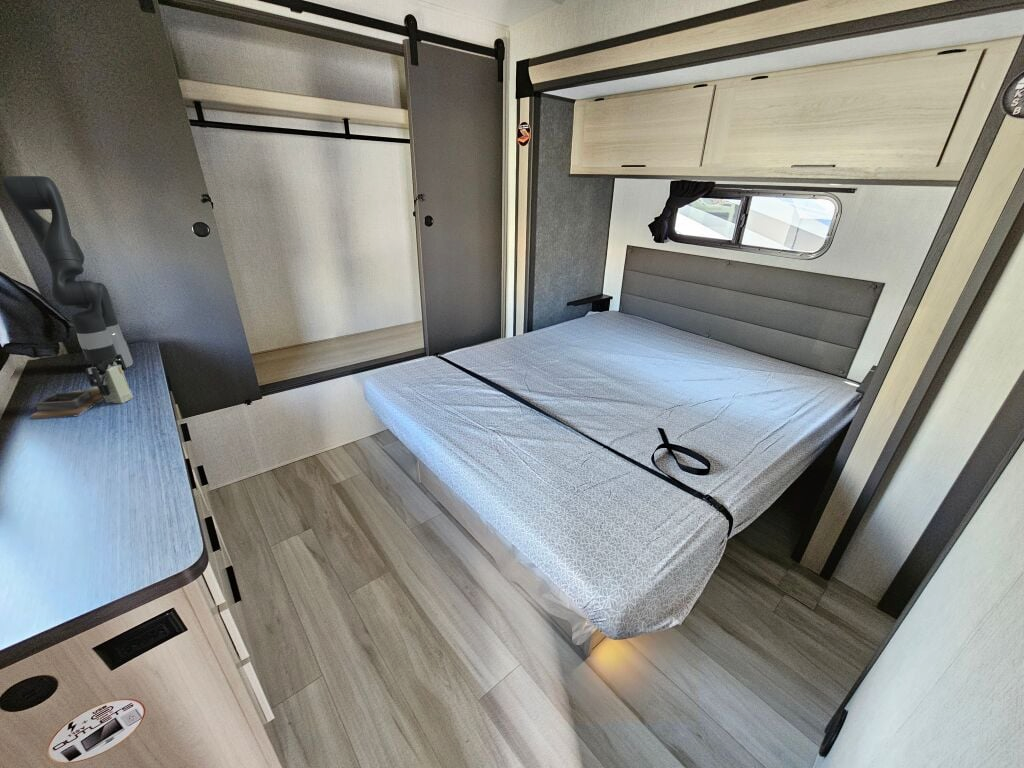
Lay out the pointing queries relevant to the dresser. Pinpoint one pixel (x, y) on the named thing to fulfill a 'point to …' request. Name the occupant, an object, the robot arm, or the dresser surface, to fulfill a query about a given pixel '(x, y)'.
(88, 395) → the carrier plate
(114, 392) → the skincare box
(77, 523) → the dresser surface
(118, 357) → the robot arm
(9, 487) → the dresser surface
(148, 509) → the dresser surface
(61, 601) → the dresser surface
